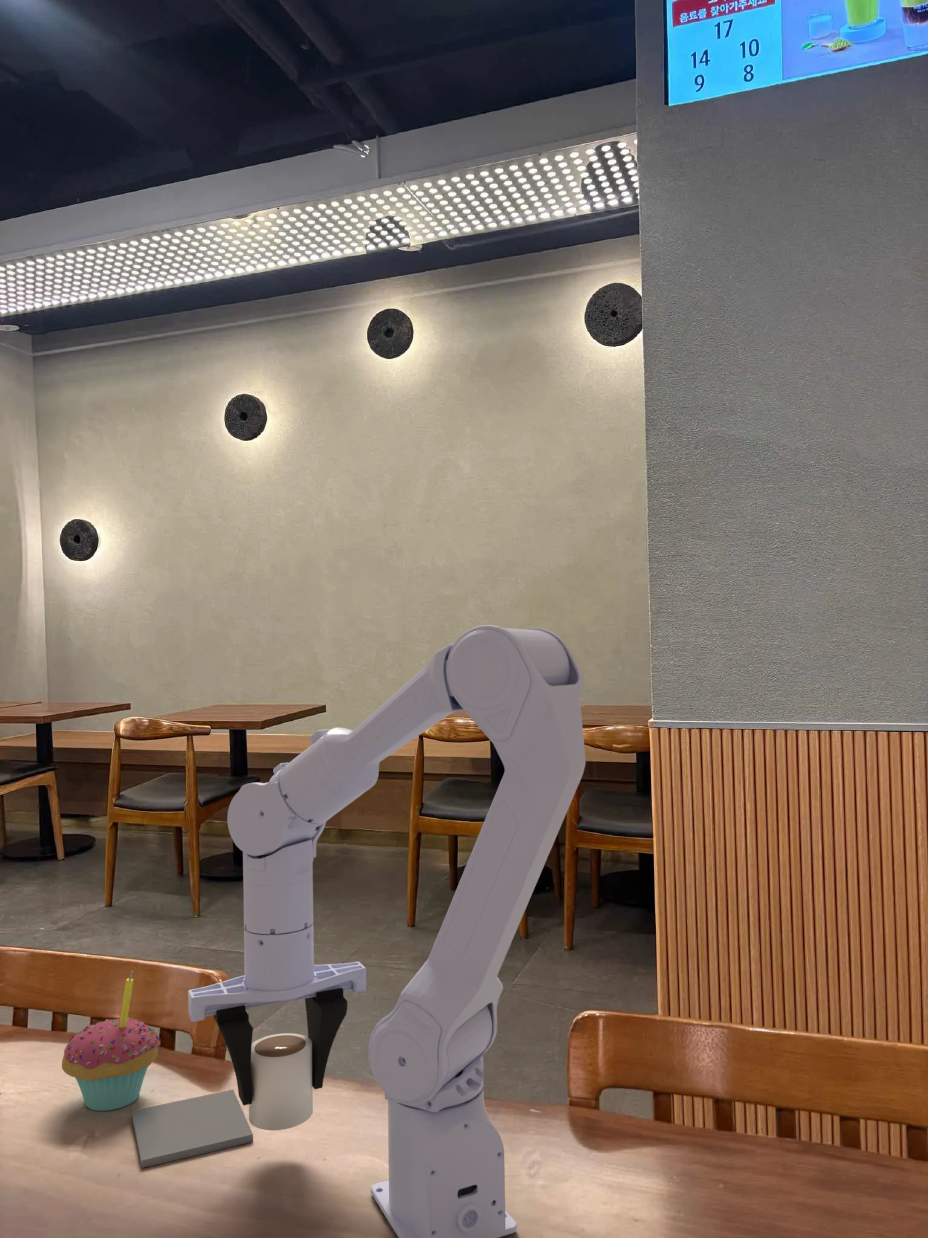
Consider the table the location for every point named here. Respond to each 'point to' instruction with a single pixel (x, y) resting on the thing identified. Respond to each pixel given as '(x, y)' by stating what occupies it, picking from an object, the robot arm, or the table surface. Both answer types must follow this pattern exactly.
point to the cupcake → (111, 1058)
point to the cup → (281, 1081)
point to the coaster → (189, 1127)
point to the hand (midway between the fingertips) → (281, 1091)
